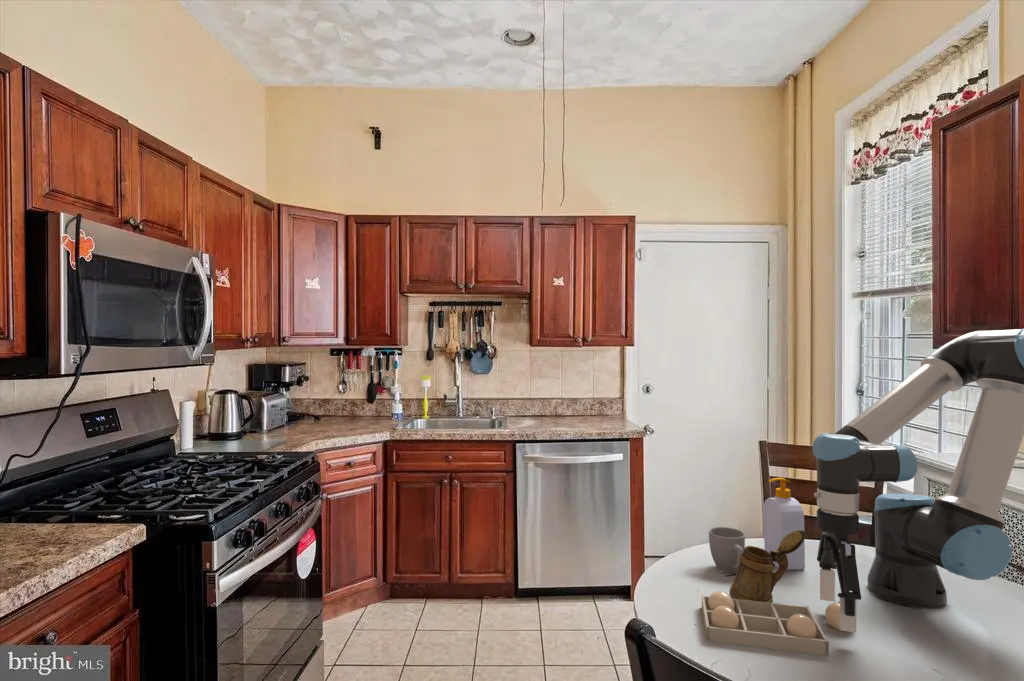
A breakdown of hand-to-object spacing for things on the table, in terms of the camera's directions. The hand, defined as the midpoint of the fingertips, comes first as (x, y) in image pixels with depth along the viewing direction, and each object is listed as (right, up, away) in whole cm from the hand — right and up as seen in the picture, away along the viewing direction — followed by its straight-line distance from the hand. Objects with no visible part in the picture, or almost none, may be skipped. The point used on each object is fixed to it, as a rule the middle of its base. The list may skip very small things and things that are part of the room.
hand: (837, 614), depth 113 cm
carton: (-16, -3, -1) cm, 16 cm away
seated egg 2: (-24, -3, -2) cm, 24 cm away
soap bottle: (+6, -4, +34) cm, 35 cm away
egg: (+1, -3, 0) cm, 3 cm away
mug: (-10, -4, +30) cm, 32 cm away
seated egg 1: (-22, -3, +5) cm, 23 cm away
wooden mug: (-10, -3, +12) cm, 16 cm away
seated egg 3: (-10, -3, -6) cm, 12 cm away
